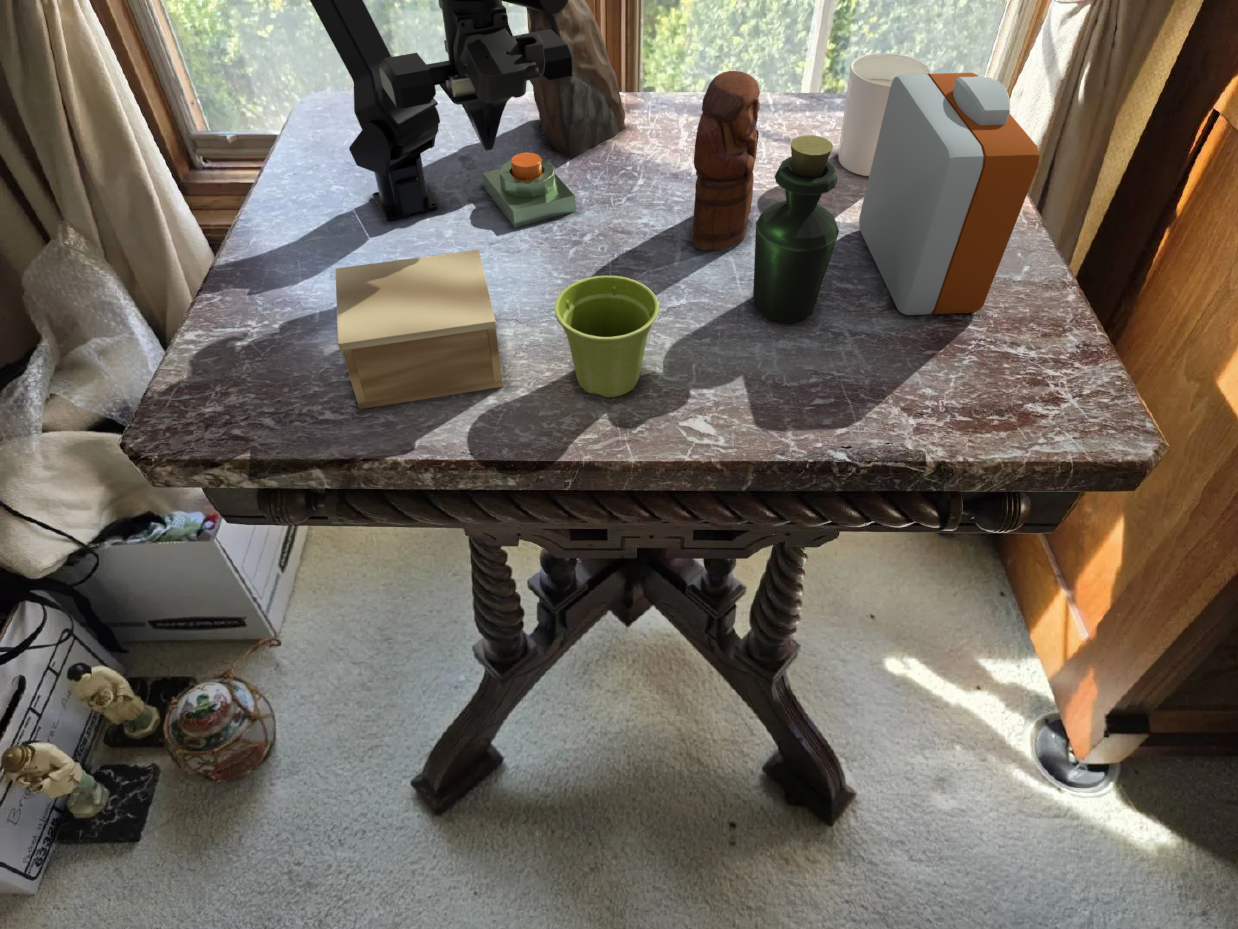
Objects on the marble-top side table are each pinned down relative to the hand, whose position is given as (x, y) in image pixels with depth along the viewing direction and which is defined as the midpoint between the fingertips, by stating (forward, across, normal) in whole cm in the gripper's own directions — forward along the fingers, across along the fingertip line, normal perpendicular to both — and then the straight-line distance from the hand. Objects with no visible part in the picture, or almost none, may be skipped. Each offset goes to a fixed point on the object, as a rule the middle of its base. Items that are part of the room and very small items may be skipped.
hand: (487, 148), depth 91 cm
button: (+8, +7, +7) cm, 12 cm away
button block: (+11, +7, +7) cm, 15 cm away
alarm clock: (+11, +40, -26) cm, 49 cm away
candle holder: (+11, +51, -4) cm, 52 cm away
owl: (+11, +19, +20) cm, 30 cm away
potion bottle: (+11, +23, -25) cm, 36 cm away
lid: (+3, -14, -18) cm, 23 cm away
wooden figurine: (+11, +25, -9) cm, 29 cm away
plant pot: (+11, +1, -28) cm, 30 cm away
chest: (+11, -14, -18) cm, 25 cm away
